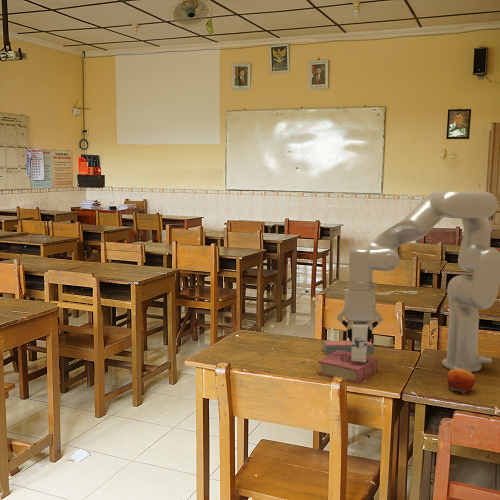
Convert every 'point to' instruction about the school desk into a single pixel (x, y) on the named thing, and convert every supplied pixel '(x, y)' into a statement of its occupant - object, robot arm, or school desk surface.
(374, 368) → the book
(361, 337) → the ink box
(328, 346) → the pencil case
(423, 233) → the robot arm
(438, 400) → the school desk surface
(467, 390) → the fruit
